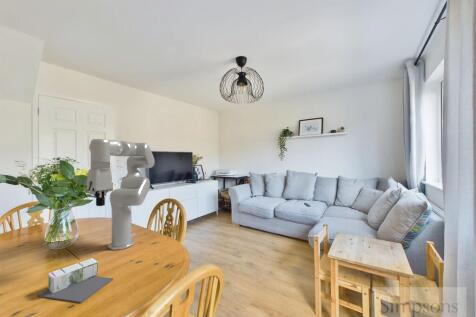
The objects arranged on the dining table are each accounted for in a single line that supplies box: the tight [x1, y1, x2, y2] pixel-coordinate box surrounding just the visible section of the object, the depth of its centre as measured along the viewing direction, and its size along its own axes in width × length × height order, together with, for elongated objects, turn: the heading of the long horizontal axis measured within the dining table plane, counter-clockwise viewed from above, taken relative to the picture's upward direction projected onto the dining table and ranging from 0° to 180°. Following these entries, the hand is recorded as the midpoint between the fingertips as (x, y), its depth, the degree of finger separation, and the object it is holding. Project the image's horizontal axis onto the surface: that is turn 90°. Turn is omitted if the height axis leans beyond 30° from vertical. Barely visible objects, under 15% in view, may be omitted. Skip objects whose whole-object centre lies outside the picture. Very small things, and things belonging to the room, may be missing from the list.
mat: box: [37, 275, 114, 304], centre depth 78 cm, size 14×18×1 cm
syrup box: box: [47, 257, 99, 293], centre depth 81 cm, size 6×6×14 cm
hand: (100, 205), depth 97 cm, fingers closed
